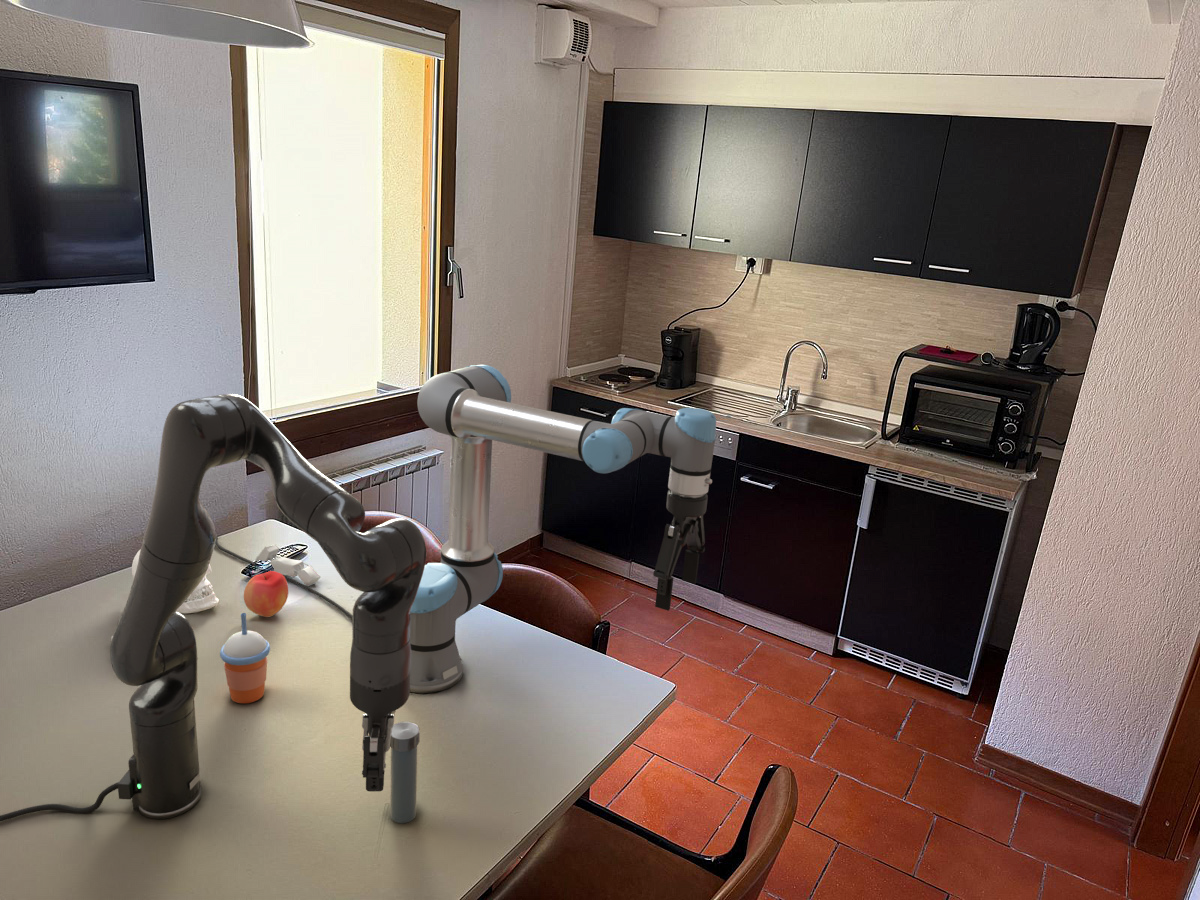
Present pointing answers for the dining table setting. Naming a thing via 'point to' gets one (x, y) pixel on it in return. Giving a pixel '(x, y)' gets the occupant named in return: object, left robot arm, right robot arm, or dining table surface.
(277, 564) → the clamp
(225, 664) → the cup with straw
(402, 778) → the blue thermos bottle
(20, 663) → the dining table surface
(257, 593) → the apple
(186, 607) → the skull
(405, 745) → the lid
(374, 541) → the left robot arm
